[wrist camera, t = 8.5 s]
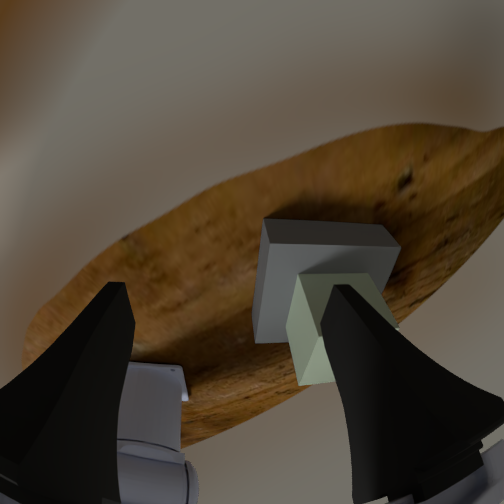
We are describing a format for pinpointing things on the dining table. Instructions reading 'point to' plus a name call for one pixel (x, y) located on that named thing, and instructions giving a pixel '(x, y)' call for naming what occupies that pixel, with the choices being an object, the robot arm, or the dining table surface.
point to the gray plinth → (312, 264)
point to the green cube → (309, 317)
